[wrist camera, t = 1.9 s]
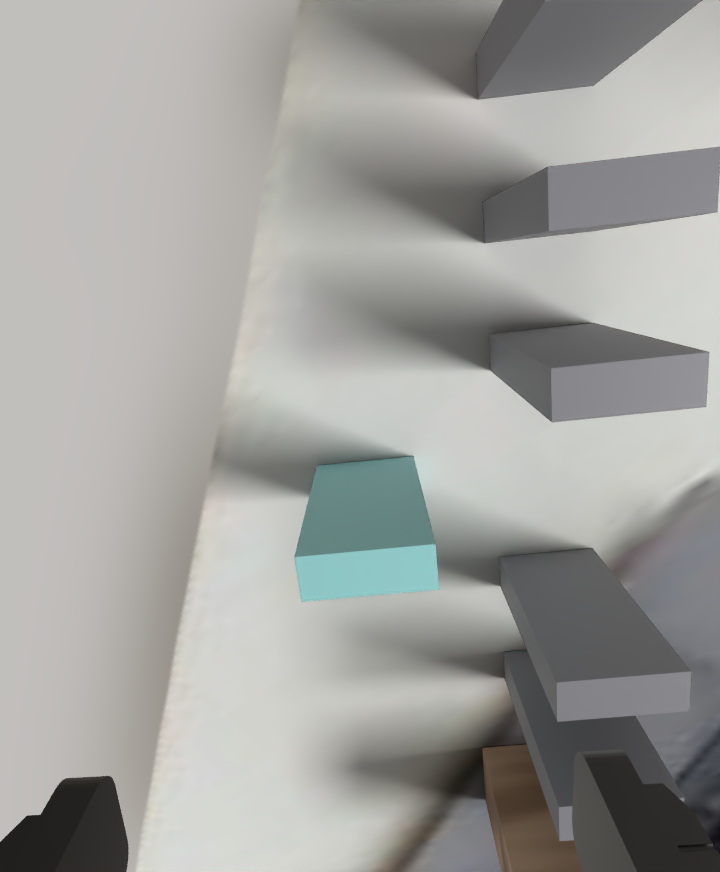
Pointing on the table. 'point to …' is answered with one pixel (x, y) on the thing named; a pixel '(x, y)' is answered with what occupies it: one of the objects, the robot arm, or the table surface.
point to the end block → (522, 815)
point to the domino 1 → (366, 532)
